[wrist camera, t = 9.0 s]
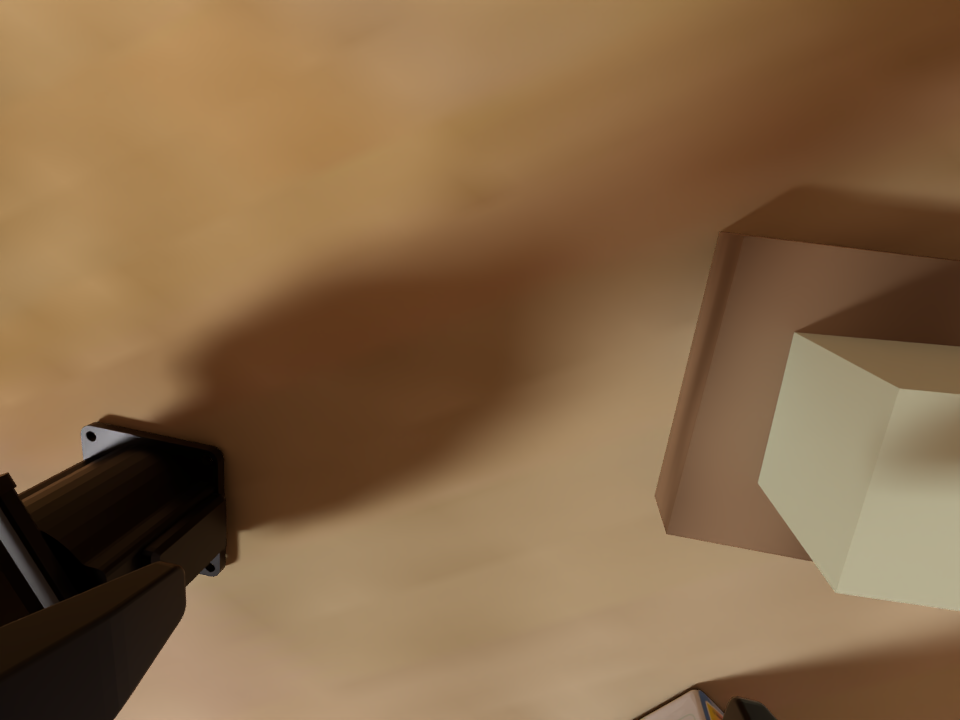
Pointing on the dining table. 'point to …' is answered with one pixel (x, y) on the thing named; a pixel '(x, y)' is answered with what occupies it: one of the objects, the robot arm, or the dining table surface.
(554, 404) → the dining table surface
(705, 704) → the ink cartridge box
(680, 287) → the dining table surface
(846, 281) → the walnut board
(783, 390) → the sage cube
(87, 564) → the robot arm
